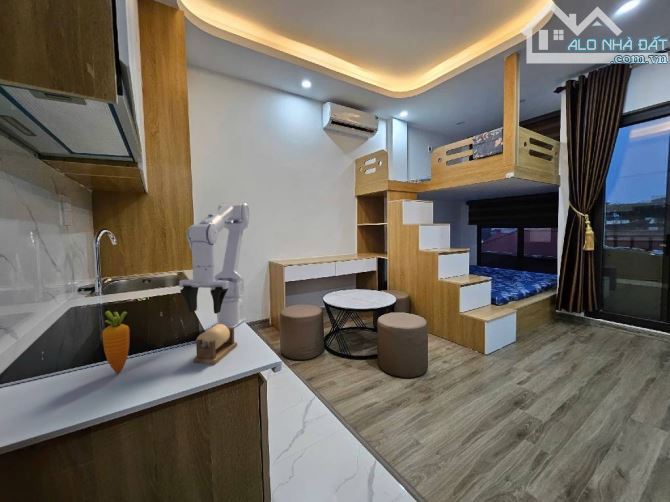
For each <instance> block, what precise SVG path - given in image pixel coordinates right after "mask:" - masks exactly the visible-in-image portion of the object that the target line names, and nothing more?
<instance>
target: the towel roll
mask: <svg viewBox="0 0 670 502" xmlns="http://www.w3.org/2000/svg"><path fill="white" fill-rule="evenodd" d="M229 337H230V331H229V328H227V327H226V326H225V325H223V324H217V325H215V326H214V327H212V326H211V328H209V329H207V330H206V331H205V330H204V332H202V333H201V334H199V335H198V336H197V338H196V341H197V340H198V339H200V340H202V344H201V345H200V347H201V348H204V347H209V342H210V341H211V340H215V349H217V348H218V347H220V346H221V345H222V344H224V343H225V342H226V341H228V339H229ZM196 341H195V342H196Z"/></svg>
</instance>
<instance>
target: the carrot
mask: <svg viewBox="0 0 670 502" xmlns="http://www.w3.org/2000/svg"><path fill="white" fill-rule="evenodd" d="M127 314H128V312H127V311H123V312H122V313H121V315H120V314H119V312H118V311H114V312H113V314H112V312H111V311H110V310H107V311H105V313H104V315H105V316H106V317H107V318H108V319H106V320H105V321H104V322H105V323H106V324H109V325H108V326H107V327H105V328H104V329H103V330H102V333H101V334H102V336H101V337H102V344H103V345H102V346H103V351H104V354H105V358H106V361H107V363H108V364H109V366H110V368H111V369H112V370H113V371H114V372H115V373H117V374H119V373H121V372H122V370H123V369H124V367H125V364H126V362H127V359H128V356H129V350H130V327H129V326H128V324H127V325H126V324H124V323H122V322H123V320H124V318H125V316H126V315H127Z"/></svg>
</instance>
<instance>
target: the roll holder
mask: <svg viewBox="0 0 670 502" xmlns="http://www.w3.org/2000/svg"><path fill="white" fill-rule="evenodd" d="M228 329H229V331H230V337H229V339H228V341H226V342H225V343H224V344H222V345H221V346H220V347H218V348H217V349H215V340H211V341H210V342H209V347H204V348H201V347H200V345H201V344H202V340H200V339H198V340H197V339H196V340H197V341H195V347H196V356H195V357H193V363H199V364H209V365H210V364H212V365H216V364H218V363H219V362H220V361H221V360H222V359H224V358H225V357H226V356H227V355H228V354H230V353H231V352H232V351H233V350H234V349H236V348H237V347H236V346H238V342H235V328H232V327H231V328H228ZM230 351H231V352H230Z"/></svg>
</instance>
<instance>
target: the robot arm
mask: <svg viewBox="0 0 670 502" xmlns="http://www.w3.org/2000/svg"><path fill="white" fill-rule="evenodd" d="M217 207H218V208H217V211H216V213H214V212H213V213H212V212H211V213H208V214H207V216H206V217H205V218H204V219H202V220H200V222H199V223H198V224H197V223H196V224H194V223H193V224H192V225H190V226H189V227H188V228H187V233H186V239H187V242H188V244H189V249H190V251H191V256H192V257H191V260H192V262H191V263H192V279H181V280H179V281H178V282H179V288H182V289H180V290H179V291H180V294H181V295H182V296H183V298H184V299H185V302H186V304H187V306H188V310H189V312H190V313H194V312H196V311H197V310H198V309H197V308H198V293H199V288H203V289H204V288H205V289H207V288H209V289H210V290H209V292H210V296H211V297H212V304H213V305H212V306H213V313H214V314H216V319H217V321H216V323H214V324H213V325H212V326H211V328H212V327H214V326H215V325H217V324H223V325H225V326H226V327H227V328H228V329H229V328H231V327H232V328H234V329H235V328H236V327H237V326H239V325H240V324H242V323H244V322H245V321H246V320H247V319H246V318H244V302H243V300H242V299H241V298H242V297H243V295H244V292H245V289H244V288H245V287H244V282H245V281H244V277H242V275H241V274H239V273H238V268H239V260H240V254H241V248H242V241H243V234H244V230H245V229H247V228H248V224H249V220H250V208H249V205H248V204H247V203H246V202H243V203H241V202H239V203H235V202H234V203H232V202H231V203H228V202H227V203H225V202H221V203H220V204H218V206H217ZM223 229H226V230H228V234H227V241H226V247H225V251H224V252H225V253H224V259H223V265H222V270H221V271H220V272H218V273H215V272H216V271H215V247H214V244H216V243H217V240H218V236H219V234H220V232H221V231H222V230H223ZM241 319H242V320H243V321H242V320H241Z"/></svg>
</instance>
